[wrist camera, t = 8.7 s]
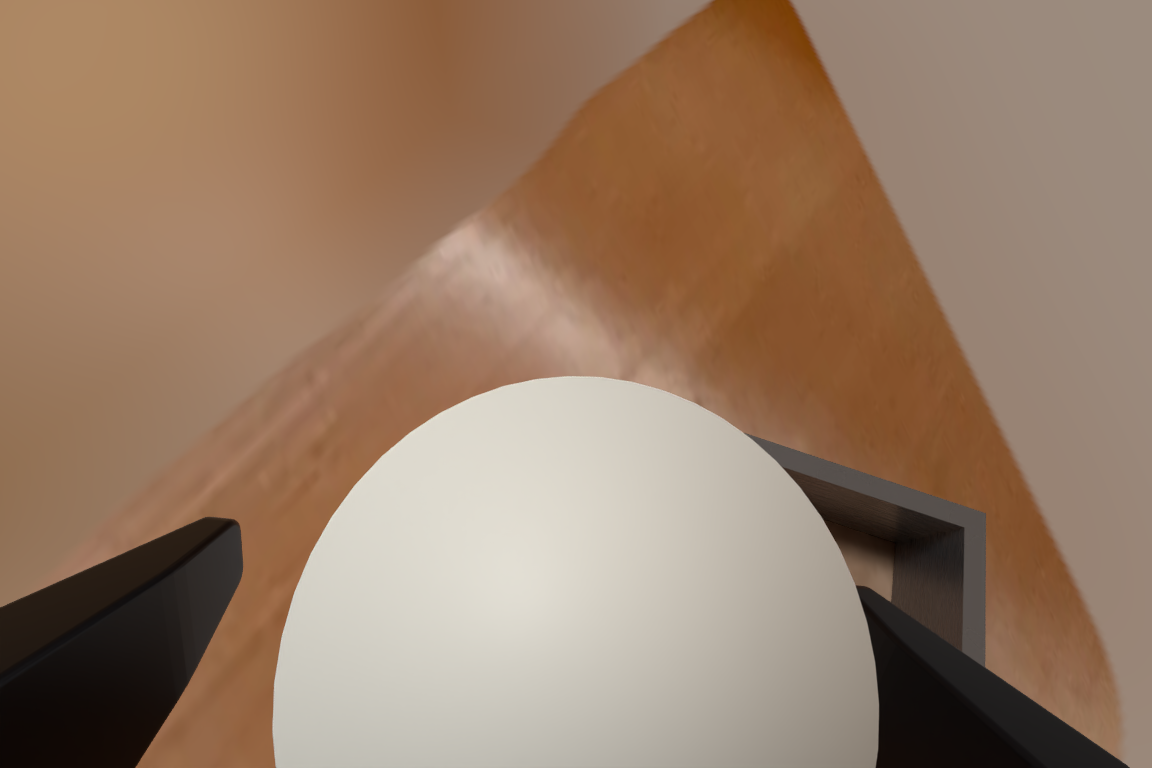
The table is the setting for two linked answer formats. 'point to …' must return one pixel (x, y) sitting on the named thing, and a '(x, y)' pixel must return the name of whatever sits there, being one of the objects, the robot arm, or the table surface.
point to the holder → (907, 542)
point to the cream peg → (576, 599)
